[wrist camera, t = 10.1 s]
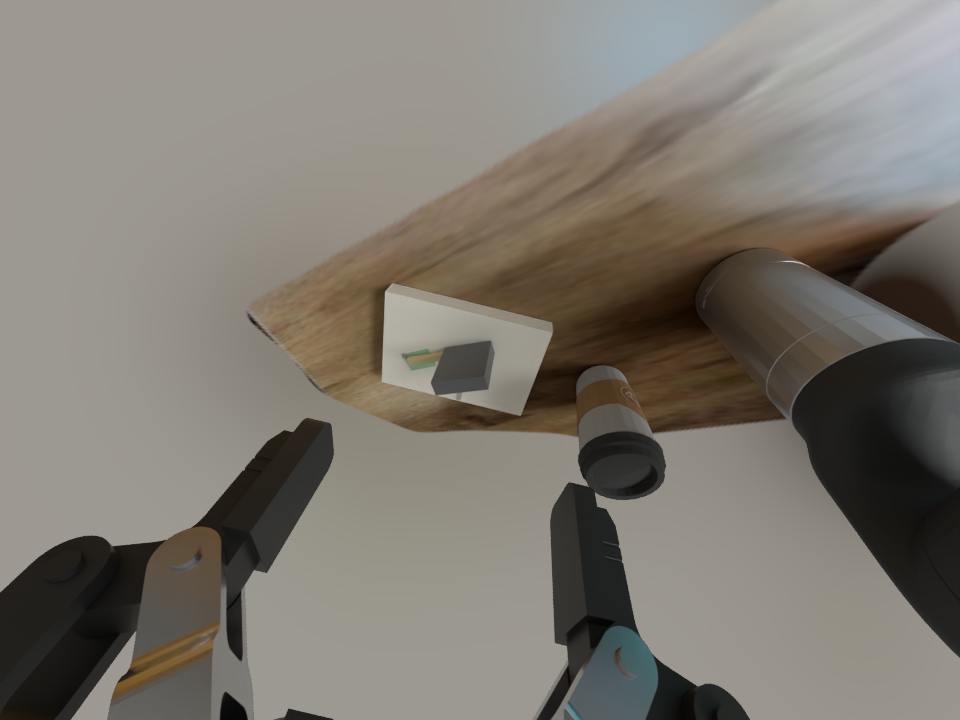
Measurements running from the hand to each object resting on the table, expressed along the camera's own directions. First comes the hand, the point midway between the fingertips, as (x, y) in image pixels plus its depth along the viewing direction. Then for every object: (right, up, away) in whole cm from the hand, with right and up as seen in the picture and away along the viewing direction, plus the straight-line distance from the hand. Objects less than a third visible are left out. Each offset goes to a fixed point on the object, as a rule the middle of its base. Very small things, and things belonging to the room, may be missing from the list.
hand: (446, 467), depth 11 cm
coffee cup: (+17, +1, +34) cm, 38 cm away
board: (-1, +5, +34) cm, 34 cm away
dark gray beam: (-3, +4, +31) cm, 31 cm away
